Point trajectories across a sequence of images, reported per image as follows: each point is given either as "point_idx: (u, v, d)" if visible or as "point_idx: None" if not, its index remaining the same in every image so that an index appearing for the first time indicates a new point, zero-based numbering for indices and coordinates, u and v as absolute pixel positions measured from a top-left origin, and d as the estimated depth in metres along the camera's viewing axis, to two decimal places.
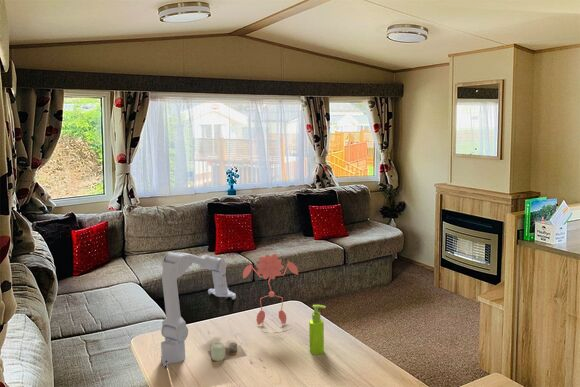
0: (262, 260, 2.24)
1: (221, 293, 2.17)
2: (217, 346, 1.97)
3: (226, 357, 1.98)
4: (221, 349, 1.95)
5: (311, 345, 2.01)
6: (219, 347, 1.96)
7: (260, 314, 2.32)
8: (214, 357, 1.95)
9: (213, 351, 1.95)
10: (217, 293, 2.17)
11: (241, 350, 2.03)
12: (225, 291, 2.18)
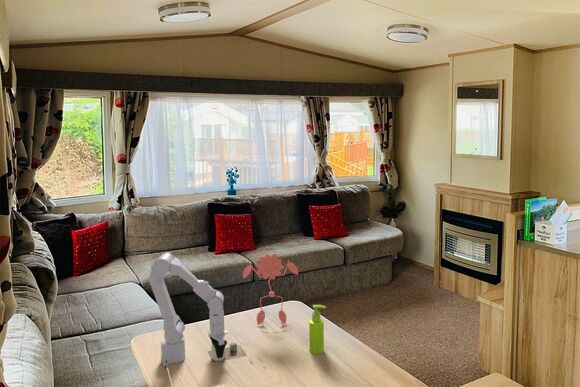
0: (262, 260, 2.24)
1: (212, 333, 1.94)
2: None
3: (226, 357, 1.98)
4: None
5: (311, 345, 2.01)
6: None
7: (260, 314, 2.32)
8: (214, 357, 1.95)
9: (213, 351, 1.95)
10: (210, 332, 1.95)
11: (241, 350, 2.03)
12: (217, 333, 1.93)
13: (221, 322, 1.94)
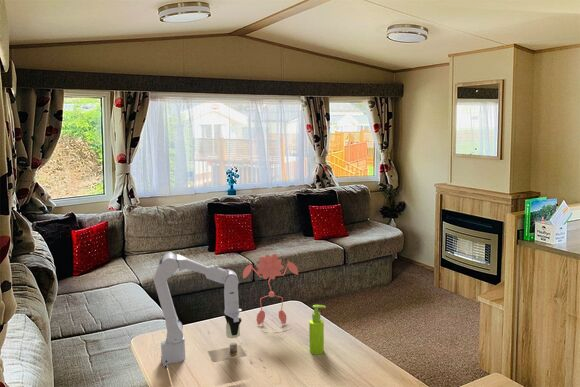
0: (262, 260, 2.24)
1: (227, 311, 1.98)
2: None
3: (226, 357, 1.98)
4: None
5: (311, 345, 2.01)
6: None
7: (260, 314, 2.32)
8: (229, 335, 2.00)
9: (228, 329, 1.99)
10: (225, 310, 1.99)
11: (241, 350, 2.03)
12: (232, 311, 1.97)
13: (237, 300, 1.98)
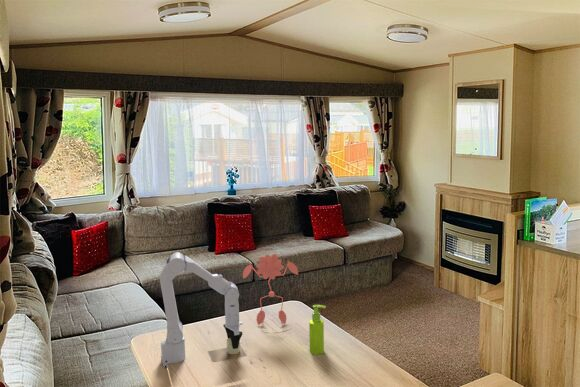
0: (262, 260, 2.24)
1: (228, 324, 1.99)
2: None
3: (226, 357, 1.98)
4: None
5: (311, 345, 2.01)
6: None
7: (260, 314, 2.32)
8: (229, 350, 2.01)
9: (228, 345, 2.00)
10: (225, 323, 2.00)
11: (241, 350, 2.03)
12: (232, 324, 1.98)
13: (237, 312, 1.99)
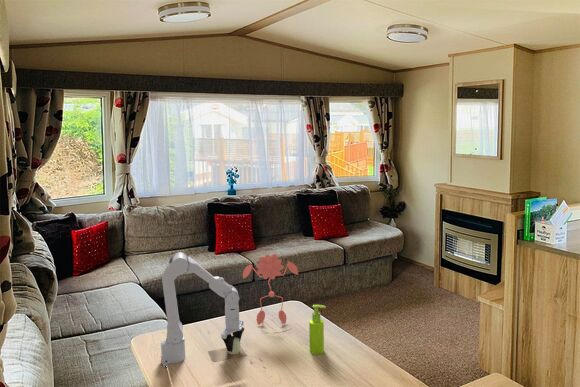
0: (262, 260, 2.24)
1: None
2: None
3: (226, 357, 1.98)
4: (236, 343, 2.00)
5: (311, 345, 2.01)
6: (234, 341, 2.01)
7: (260, 314, 2.32)
8: None
9: None
10: None
11: (241, 350, 2.03)
12: (227, 327, 1.99)
13: (237, 316, 1.99)
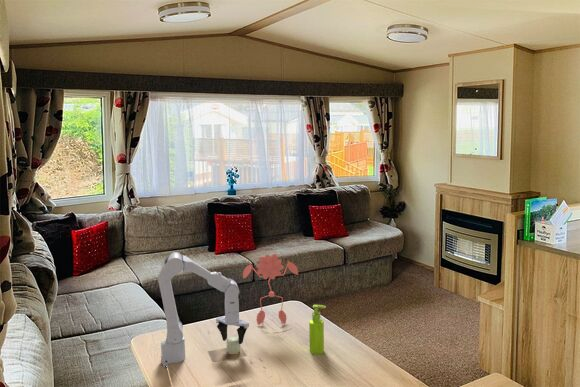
0: (262, 260, 2.24)
1: (233, 321, 1.98)
2: (234, 339, 2.02)
3: (226, 357, 1.98)
4: None
5: (311, 345, 2.01)
6: (236, 338, 2.03)
7: (260, 314, 2.32)
8: (238, 349, 2.02)
9: (237, 344, 2.01)
10: (228, 321, 1.98)
11: (241, 350, 2.03)
12: (237, 319, 1.99)
13: (237, 309, 1.99)
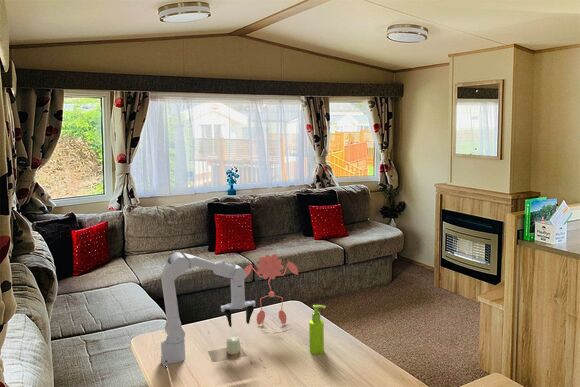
0: (262, 260, 2.24)
1: None
2: (234, 339, 2.02)
3: (226, 357, 1.98)
4: None
5: (311, 345, 2.01)
6: (236, 338, 2.03)
7: (260, 314, 2.32)
8: (238, 349, 2.02)
9: (237, 344, 2.01)
10: None
11: (241, 350, 2.03)
12: (231, 302, 2.06)
13: (244, 292, 2.05)
